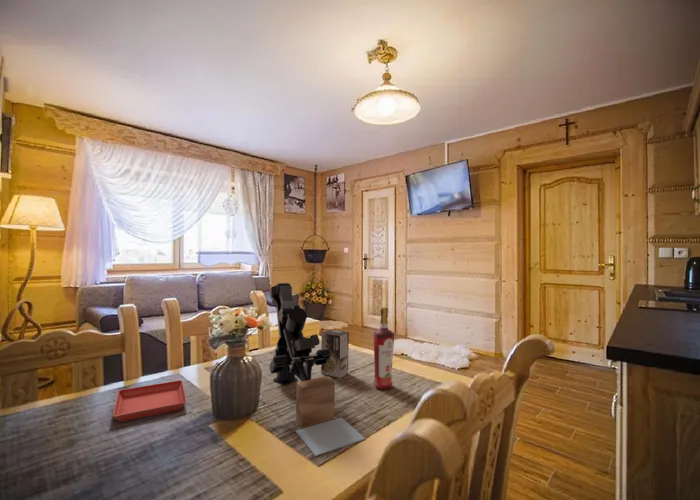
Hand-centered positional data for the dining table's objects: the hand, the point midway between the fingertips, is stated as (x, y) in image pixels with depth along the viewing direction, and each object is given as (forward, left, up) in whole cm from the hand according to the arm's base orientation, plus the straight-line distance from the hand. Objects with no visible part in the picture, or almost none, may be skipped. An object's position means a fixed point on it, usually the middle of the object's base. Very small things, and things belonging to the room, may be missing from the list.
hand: (309, 386), depth 97 cm
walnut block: (+4, -1, -8) cm, 9 cm away
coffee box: (-15, +29, -8) cm, 33 cm away
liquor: (+6, +31, -8) cm, 32 cm away
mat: (+12, -4, -8) cm, 15 cm away
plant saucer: (-40, -27, -9) cm, 49 cm away
